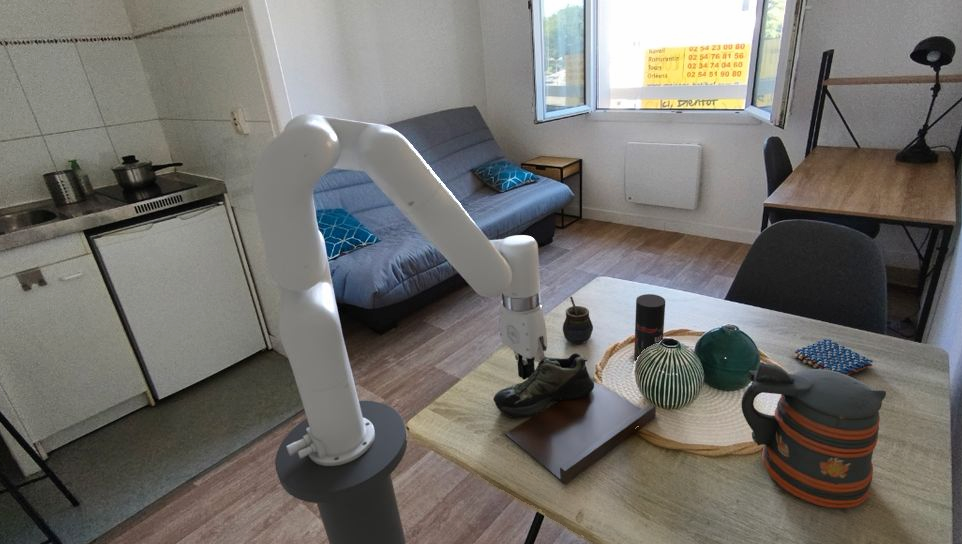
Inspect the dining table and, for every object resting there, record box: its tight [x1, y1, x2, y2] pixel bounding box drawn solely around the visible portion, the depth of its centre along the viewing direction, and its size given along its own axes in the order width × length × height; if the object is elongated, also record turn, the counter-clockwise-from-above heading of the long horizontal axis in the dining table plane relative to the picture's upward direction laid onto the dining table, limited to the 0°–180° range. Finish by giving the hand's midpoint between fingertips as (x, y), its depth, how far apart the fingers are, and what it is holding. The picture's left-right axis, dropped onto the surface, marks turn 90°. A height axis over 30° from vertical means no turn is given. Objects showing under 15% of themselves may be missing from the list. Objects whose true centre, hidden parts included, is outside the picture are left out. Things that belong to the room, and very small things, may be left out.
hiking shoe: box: [493, 352, 595, 419], centre depth 102 cm, size 8×21×9 cm, turn 110°
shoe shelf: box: [505, 381, 657, 486], centre depth 95 cm, size 24×16×3 cm, turn 127°
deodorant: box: [633, 293, 666, 362], centre depth 110 cm, size 6×6×15 cm
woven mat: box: [793, 338, 874, 376], centre depth 106 cm, size 10×11×2 cm
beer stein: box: [741, 361, 887, 510], centre depth 78 cm, size 19×15×20 cm
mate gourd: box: [562, 296, 594, 345], centre depth 122 cm, size 7×8×10 cm
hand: (526, 375), depth 106 cm, fingers closed
